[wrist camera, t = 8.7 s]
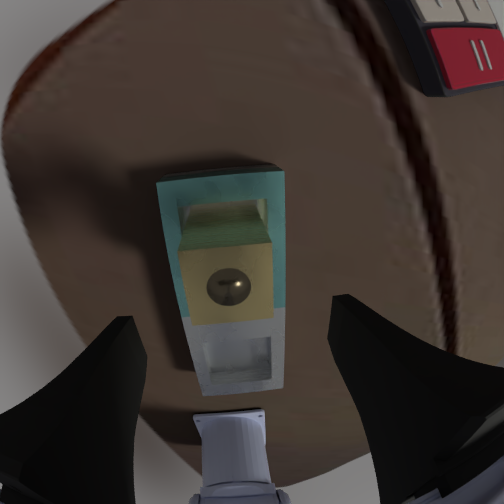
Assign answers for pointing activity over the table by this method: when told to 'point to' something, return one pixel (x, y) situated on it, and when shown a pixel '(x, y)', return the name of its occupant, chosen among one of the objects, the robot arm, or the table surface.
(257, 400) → the table surface
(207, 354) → the white teal tray block
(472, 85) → the calculator
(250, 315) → the nut
